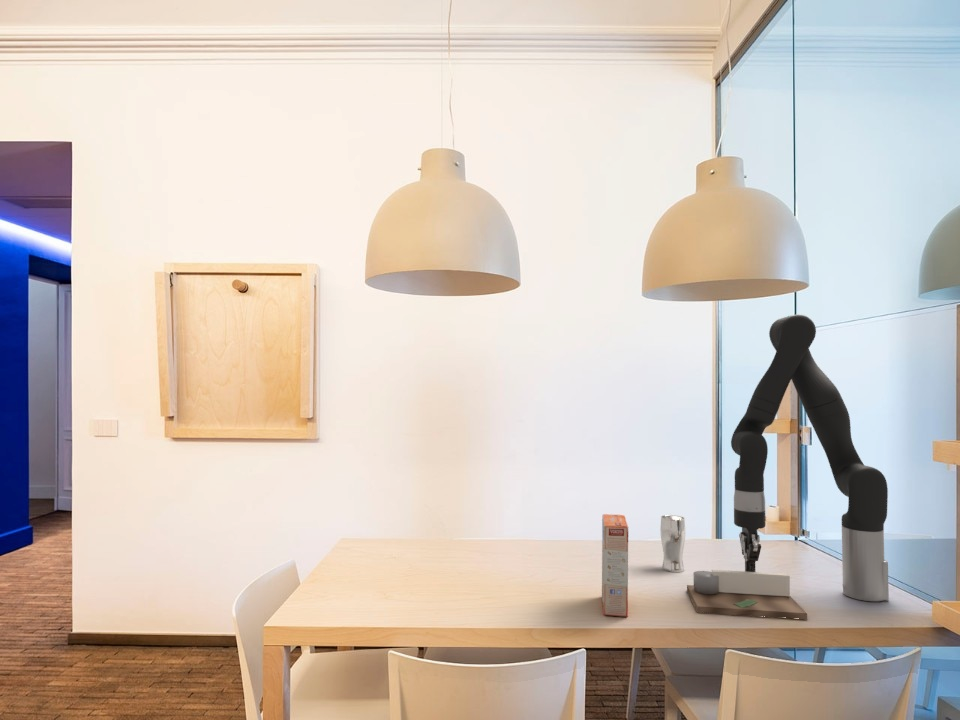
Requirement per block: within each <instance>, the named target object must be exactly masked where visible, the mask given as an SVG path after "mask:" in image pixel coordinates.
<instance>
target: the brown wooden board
mask: <svg viewBox="0 0 960 720" xmlns="http://www.w3.org/2000/svg"><path fill="white" fill-rule="evenodd" d="M686 592H687V594H688V596H689V598H690V600H691V602H692V605H693V606H694V608H695V610H696V613H698V614H710V615H725V616H738V617H739V616H741V617H742V616H743V617H754V616H763V617H762V618H769V617H786V618H799V619H807V620H808V613H807V611H805V610H804V609H803V607H801V605H800V604H799V603H798V602H797V601H796V600H795V599H794V598H793V596H791V595H790V596H775V595H758V594H741V593H725V592H719V593H717V594H702V593H699V592H696V591H695V590H694V584H693V585H691V584H687V585H686ZM764 616H765V617H764ZM799 619H798V620H799Z"/></svg>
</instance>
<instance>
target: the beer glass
mask: <svg viewBox="0 0 960 720" xmlns="http://www.w3.org/2000/svg"><path fill="white" fill-rule="evenodd" d="M659 530H660V539H661V547H662V552H663V561H662V566H661V568H662V570H664V571H665V572H669V571H670V572H671V573H682V572H684V571H685V567H684V560H683V557H684V556H683V554H684V547H685V543H686V522H685V517H684V516H682V515H676V514H675V515H672V514H666V515H661V516H660V529H659Z"/></svg>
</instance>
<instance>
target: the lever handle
mask: <svg viewBox="0 0 960 720" xmlns="http://www.w3.org/2000/svg"><path fill="white" fill-rule="evenodd" d="M790 578H791V577H790V575H789V573H777V572H762V571H761V572H759V571H758V572H757V571H755V572H745V570H744V571H740V570H722V569H711V571H709V570H695V571H694V572H693V585H694V590H695V591H696V592H699V593H702V594H717V593H719V592H725V593H741V594H758V595H775V596H791V591H790V590H791V587H790V584H791V583H790Z"/></svg>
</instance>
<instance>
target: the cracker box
mask: <svg viewBox="0 0 960 720" xmlns="http://www.w3.org/2000/svg"><path fill="white" fill-rule="evenodd" d="M601 521H602V524H601V525H602V526H601V527H602V528H601V534H602V535H601V537H602V538H601V541H602V542H601V546H602V547H601V548H602V549H601V601H602V602H601V603H602V610H603V611H602V613H603V616H609V617H610V616H611V617H620V618H621V617H623V618H625V617H626V618H627V617H628V616H629V615H628V614H629V612H628V611H629V526H628V522H627V520H626V516H625V515H624V514H607V513H605V514H602V520H601Z"/></svg>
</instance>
